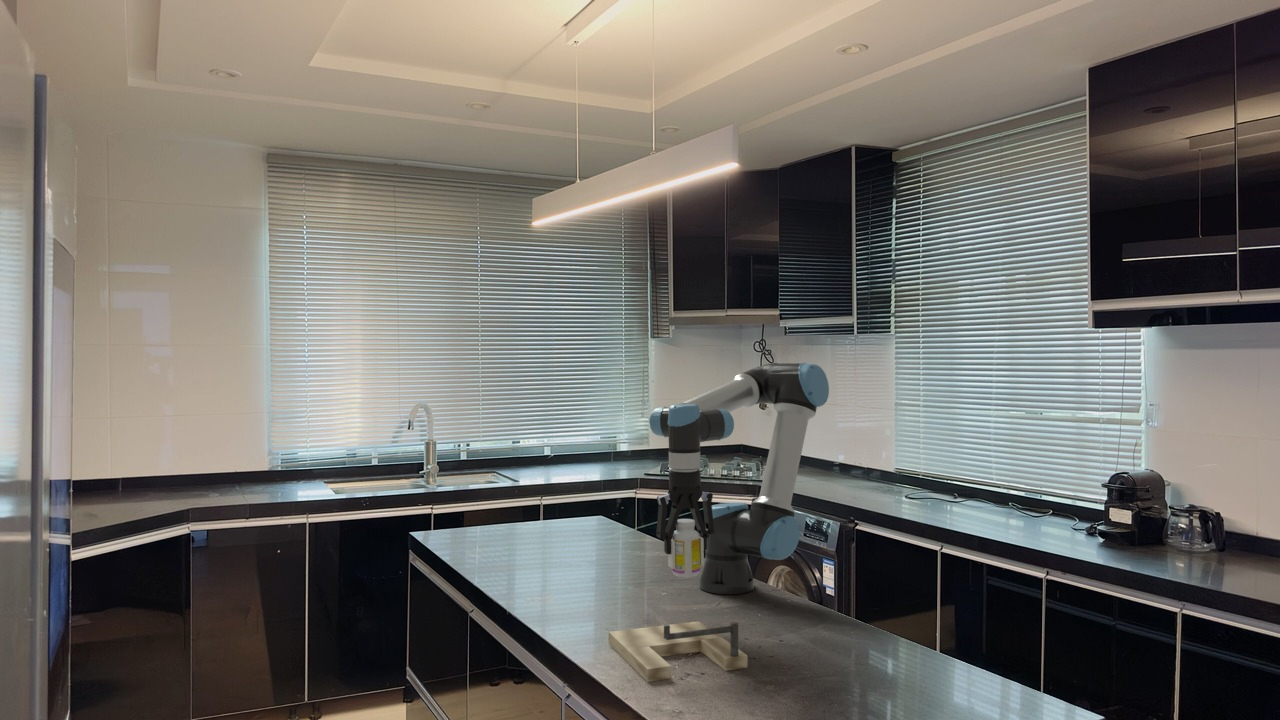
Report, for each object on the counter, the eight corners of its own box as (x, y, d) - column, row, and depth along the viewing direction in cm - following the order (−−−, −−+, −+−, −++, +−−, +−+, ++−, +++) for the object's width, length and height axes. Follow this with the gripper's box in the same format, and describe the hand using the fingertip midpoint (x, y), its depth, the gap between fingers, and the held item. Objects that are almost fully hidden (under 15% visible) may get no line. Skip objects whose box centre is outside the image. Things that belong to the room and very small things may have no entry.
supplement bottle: (698, 570, 206) (698, 517, 206) (701, 577, 199) (700, 523, 199) (671, 570, 206) (670, 518, 205) (673, 578, 199) (672, 523, 199)
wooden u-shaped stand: (698, 632, 197) (698, 588, 197) (747, 667, 174) (747, 617, 174) (608, 643, 189) (608, 597, 189) (647, 681, 167) (647, 629, 167)
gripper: (715, 464, 209) (716, 557, 209) (640, 470, 202) (641, 566, 203) (728, 468, 202) (730, 565, 202) (651, 474, 195) (653, 574, 195)
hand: (685, 565), depth 202 cm, fingers closed on supplement bottle, 7 cm apart
